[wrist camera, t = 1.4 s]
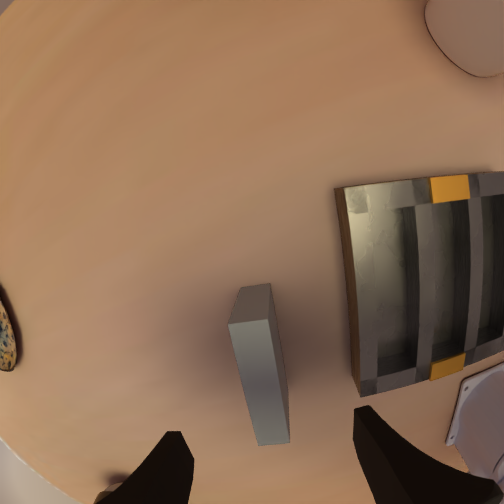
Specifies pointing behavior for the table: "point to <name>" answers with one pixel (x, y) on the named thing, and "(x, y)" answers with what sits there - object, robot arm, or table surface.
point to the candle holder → (469, 33)
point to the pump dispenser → (106, 492)
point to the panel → (261, 363)
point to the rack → (422, 276)
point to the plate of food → (6, 342)
